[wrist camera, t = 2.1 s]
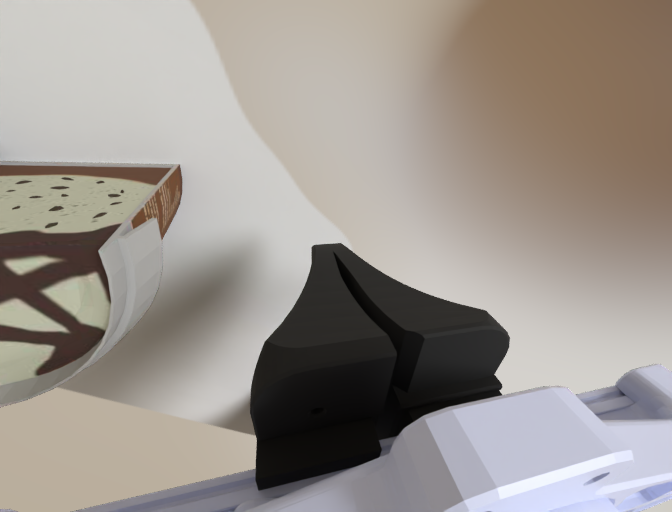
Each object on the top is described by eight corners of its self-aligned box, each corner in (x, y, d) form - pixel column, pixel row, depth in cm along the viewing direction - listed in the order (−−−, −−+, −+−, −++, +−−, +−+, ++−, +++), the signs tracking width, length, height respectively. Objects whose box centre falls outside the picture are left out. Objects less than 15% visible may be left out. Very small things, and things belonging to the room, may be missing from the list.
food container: (5, 267, 15) (-314, 468, 7) (-73, 159, 12) (-826, 291, 4) (225, 256, 18) (185, 392, 10) (208, 164, 15) (126, 249, 6)
